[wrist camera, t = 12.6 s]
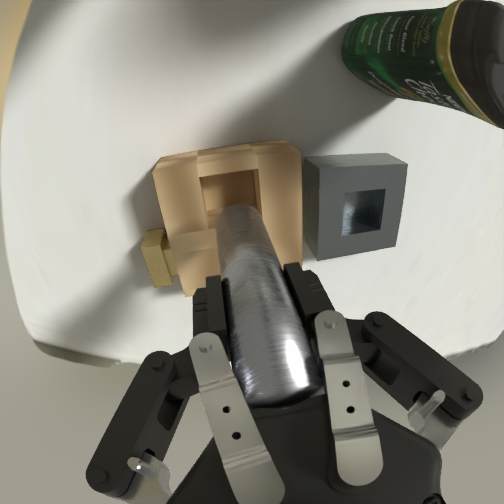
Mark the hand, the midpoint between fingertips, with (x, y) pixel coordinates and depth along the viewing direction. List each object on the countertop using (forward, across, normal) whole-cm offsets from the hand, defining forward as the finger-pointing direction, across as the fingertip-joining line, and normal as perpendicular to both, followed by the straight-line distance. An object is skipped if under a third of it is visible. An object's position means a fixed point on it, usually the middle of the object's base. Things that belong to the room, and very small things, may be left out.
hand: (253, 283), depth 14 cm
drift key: (+16, +5, +7) cm, 18 cm away
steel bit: (+6, 0, 0) cm, 6 cm away
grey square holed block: (+16, -13, +4) cm, 21 cm away
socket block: (+16, 0, +3) cm, 16 cm away
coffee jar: (+16, -17, -12) cm, 27 cm away
